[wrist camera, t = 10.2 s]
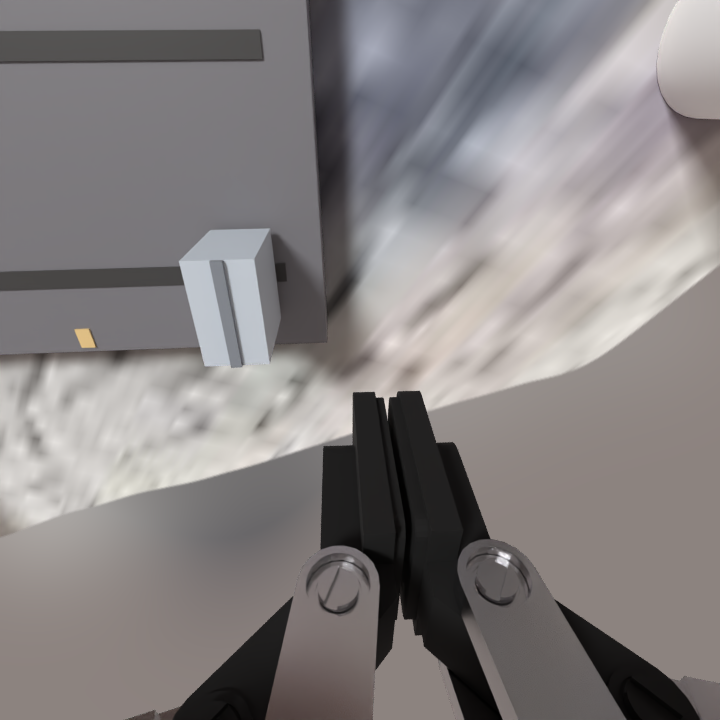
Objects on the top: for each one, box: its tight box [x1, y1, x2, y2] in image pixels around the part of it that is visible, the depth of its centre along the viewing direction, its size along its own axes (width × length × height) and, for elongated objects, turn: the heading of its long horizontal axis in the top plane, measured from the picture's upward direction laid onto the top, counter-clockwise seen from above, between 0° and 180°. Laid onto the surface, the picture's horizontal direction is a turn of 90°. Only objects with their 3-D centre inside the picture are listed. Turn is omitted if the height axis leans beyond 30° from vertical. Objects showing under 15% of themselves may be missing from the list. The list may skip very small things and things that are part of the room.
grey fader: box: [179, 228, 281, 368], centre depth 20 cm, size 5×3×5 cm, turn 1°
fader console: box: [0, 0, 328, 355], centre depth 21 cm, size 19×28×3 cm
